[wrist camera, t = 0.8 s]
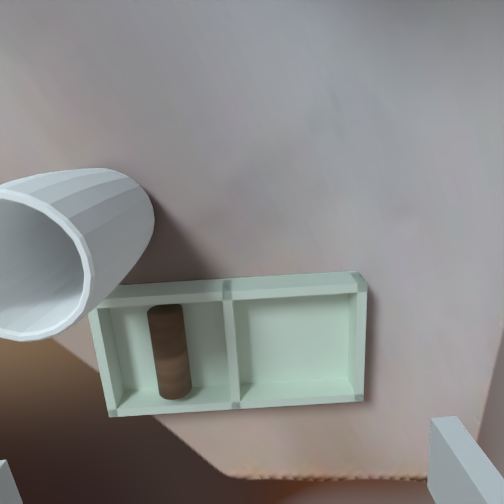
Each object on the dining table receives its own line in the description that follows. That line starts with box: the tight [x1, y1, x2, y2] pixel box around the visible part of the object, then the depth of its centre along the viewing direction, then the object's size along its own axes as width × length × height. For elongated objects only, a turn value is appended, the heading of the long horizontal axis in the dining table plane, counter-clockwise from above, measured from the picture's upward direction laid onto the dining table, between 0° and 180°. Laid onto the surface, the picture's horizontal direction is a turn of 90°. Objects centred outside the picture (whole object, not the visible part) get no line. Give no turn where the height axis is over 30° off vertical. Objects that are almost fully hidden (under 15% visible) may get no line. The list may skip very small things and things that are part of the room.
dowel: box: [147, 304, 192, 400], centre depth 33 cm, size 8×3×3 cm, turn 3°
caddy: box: [88, 271, 368, 417], centre depth 34 cm, size 12×23×3 cm, turn 93°
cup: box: [0, 168, 155, 342], centre depth 25 cm, size 8×8×14 cm
